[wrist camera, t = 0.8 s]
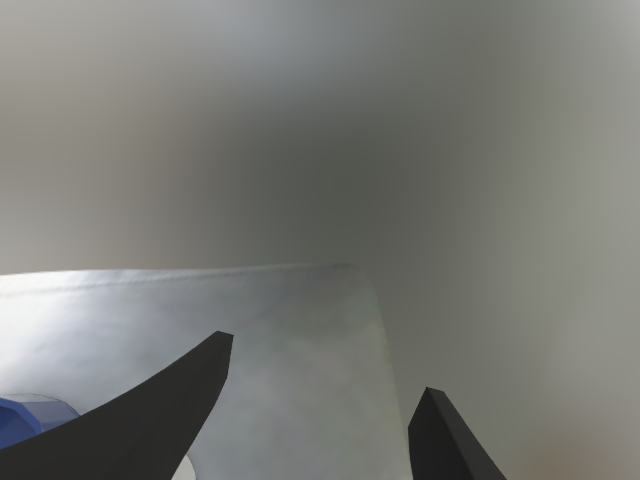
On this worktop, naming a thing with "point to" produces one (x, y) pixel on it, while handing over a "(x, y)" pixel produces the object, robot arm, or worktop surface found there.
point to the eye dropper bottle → (185, 470)
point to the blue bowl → (30, 417)
